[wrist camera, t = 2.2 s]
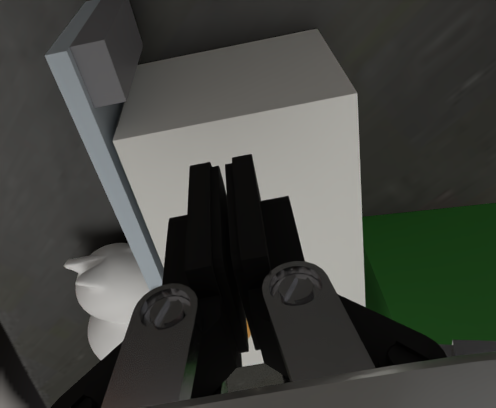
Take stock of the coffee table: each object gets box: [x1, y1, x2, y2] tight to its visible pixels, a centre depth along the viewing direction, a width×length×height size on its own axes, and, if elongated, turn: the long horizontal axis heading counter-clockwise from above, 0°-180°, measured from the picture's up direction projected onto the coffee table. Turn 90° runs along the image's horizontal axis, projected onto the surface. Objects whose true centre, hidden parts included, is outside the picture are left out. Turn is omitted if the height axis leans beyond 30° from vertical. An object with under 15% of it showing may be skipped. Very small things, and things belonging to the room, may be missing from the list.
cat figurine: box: [64, 243, 150, 360], centre depth 40 cm, size 9×11×12 cm
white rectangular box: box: [113, 29, 366, 367], centre depth 33 cm, size 22×12×11 cm, turn 10°
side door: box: [45, 0, 164, 291], centre depth 29 cm, size 16×3×9 cm, turn 10°
